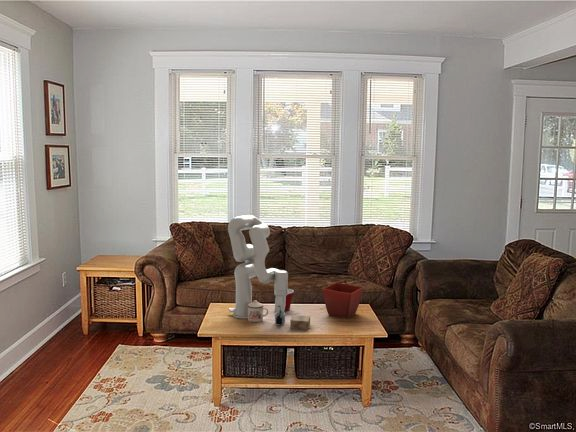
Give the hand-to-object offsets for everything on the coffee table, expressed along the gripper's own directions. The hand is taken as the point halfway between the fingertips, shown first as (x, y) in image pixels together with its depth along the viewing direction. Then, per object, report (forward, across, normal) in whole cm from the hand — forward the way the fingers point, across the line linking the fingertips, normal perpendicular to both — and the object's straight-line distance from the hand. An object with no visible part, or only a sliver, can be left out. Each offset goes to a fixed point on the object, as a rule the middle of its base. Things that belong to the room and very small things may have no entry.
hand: (280, 321), depth 308 cm
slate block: (+1, 0, 0) cm, 1 cm away
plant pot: (+1, -26, +34) cm, 43 cm away
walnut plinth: (+1, +3, +12) cm, 12 cm away
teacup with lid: (+1, -4, -14) cm, 15 cm away
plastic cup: (+1, -29, -2) cm, 29 cm away
